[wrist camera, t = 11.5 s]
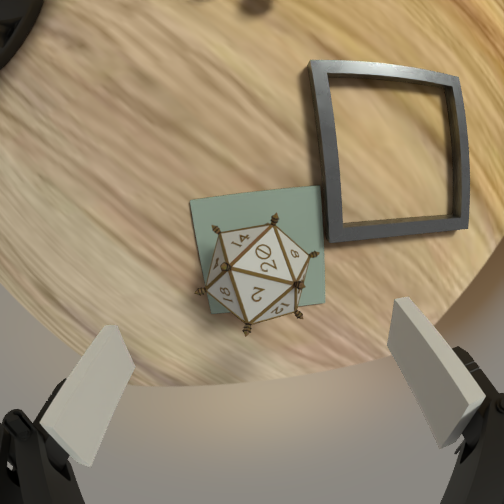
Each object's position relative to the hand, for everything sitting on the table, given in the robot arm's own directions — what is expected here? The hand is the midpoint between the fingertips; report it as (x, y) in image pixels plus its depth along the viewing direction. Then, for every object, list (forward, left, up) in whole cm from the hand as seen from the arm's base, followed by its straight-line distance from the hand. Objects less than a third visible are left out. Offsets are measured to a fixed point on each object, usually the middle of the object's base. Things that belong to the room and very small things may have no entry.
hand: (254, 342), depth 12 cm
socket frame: (+14, +8, -14) cm, 21 cm away
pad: (0, -1, -14) cm, 14 cm away
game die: (0, -1, -13) cm, 13 cm away
